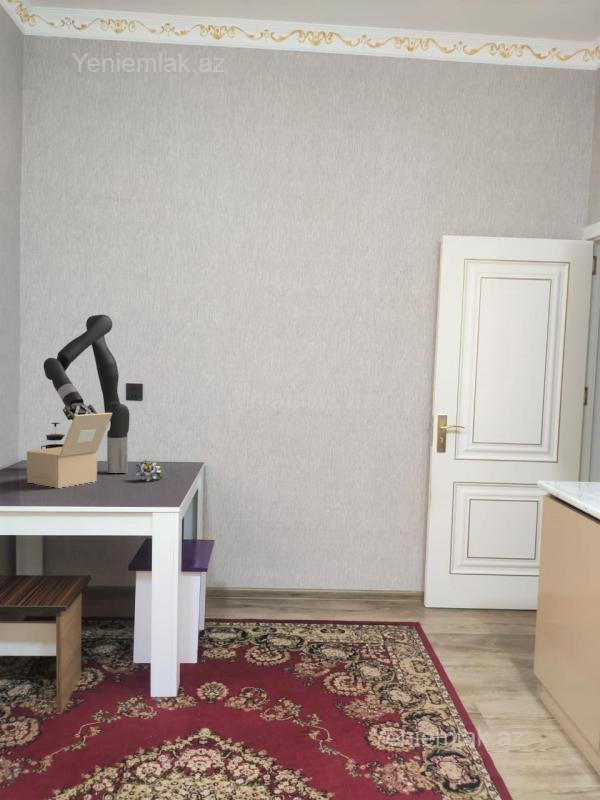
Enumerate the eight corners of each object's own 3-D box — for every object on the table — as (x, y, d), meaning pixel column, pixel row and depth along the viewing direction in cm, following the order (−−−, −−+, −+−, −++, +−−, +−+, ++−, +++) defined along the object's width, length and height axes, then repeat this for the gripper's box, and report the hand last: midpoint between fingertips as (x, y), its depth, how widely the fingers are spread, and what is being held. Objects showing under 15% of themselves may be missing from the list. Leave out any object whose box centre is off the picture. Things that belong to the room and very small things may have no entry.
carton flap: (74, 415, 262) (76, 416, 262) (111, 412, 278) (112, 413, 278) (59, 455, 268) (60, 456, 267) (96, 450, 284) (97, 451, 284)
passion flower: (148, 494, 288) (133, 473, 283) (142, 485, 297) (128, 465, 292) (169, 479, 291) (155, 458, 286) (162, 470, 300) (149, 451, 295)
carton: (25, 483, 278) (25, 451, 278) (66, 476, 297) (66, 446, 296) (57, 489, 268) (57, 455, 267) (97, 481, 286) (97, 450, 285)
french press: (67, 467, 322) (67, 421, 321) (66, 470, 313) (66, 423, 312) (42, 468, 319) (41, 421, 318) (40, 471, 310) (40, 423, 309)
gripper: (60, 391, 270) (79, 420, 264) (88, 390, 282) (106, 418, 276) (52, 403, 273) (70, 432, 267) (79, 402, 285) (97, 429, 280)
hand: (88, 425), depth 272 cm, fingers open, 8 cm apart
